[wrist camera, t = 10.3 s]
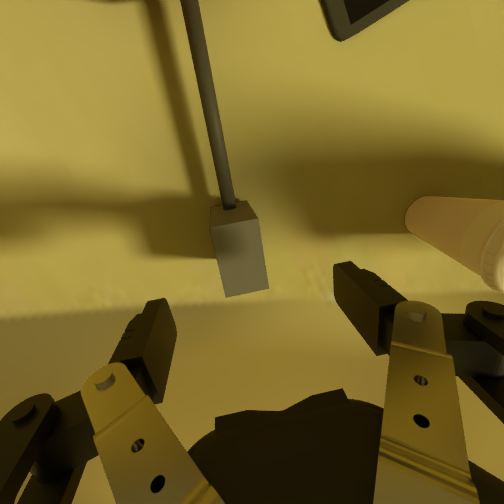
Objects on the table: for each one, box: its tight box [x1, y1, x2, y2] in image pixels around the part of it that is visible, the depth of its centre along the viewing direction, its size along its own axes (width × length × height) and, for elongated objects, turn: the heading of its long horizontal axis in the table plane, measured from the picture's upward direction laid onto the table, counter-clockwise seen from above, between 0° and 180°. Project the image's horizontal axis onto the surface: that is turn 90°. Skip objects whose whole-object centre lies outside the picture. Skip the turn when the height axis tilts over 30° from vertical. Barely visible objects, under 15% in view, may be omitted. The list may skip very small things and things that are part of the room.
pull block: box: [180, 0, 269, 298], centre depth 14 cm, size 25×6×7 cm, turn 9°
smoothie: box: [405, 196, 504, 293], centre depth 18 cm, size 6×6×14 cm
